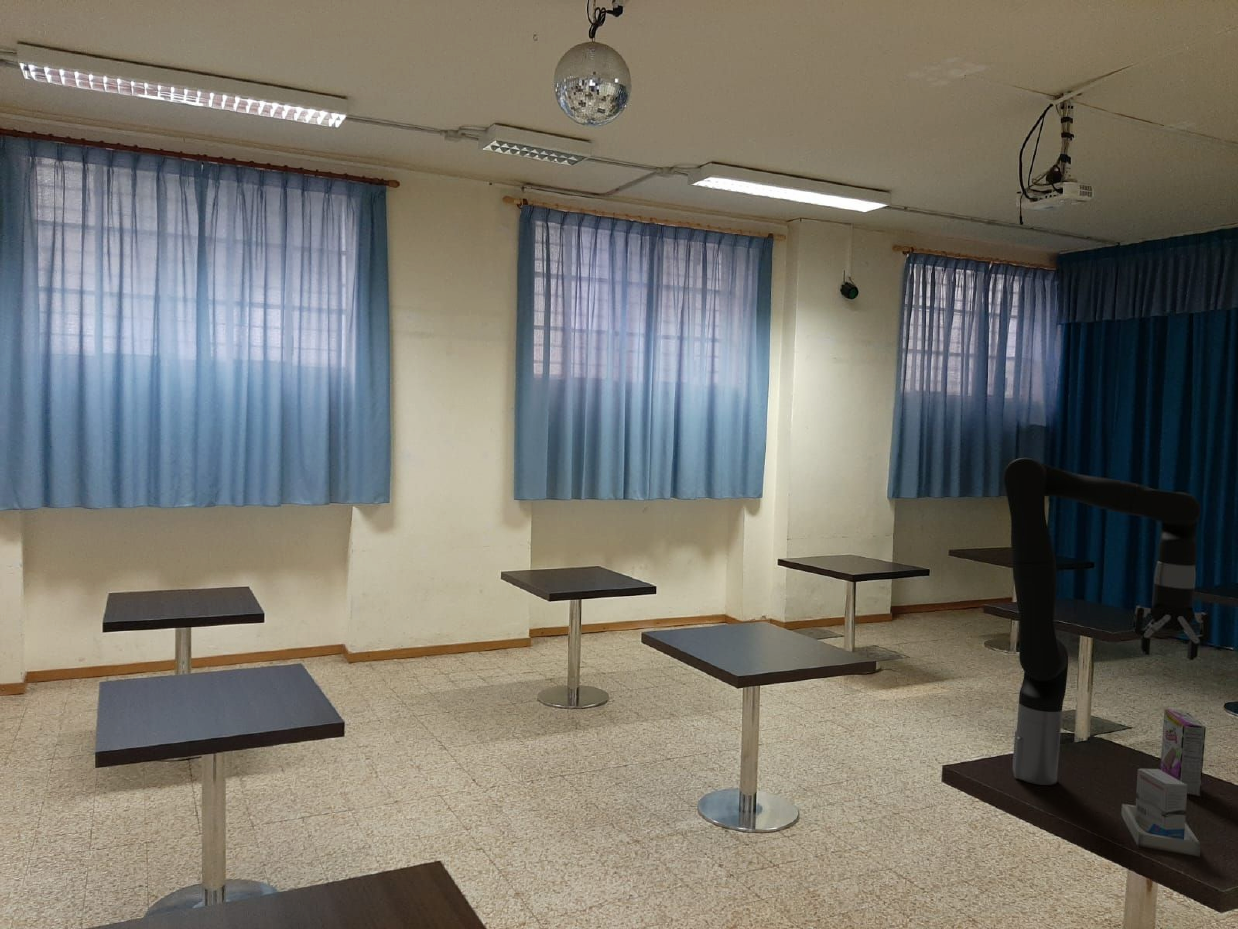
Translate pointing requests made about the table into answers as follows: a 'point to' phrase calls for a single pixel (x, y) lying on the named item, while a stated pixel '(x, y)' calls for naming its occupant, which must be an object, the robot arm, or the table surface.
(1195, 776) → the candy bar box
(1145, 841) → the tray
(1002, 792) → the table surface
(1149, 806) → the ink box
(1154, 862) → the table surface
